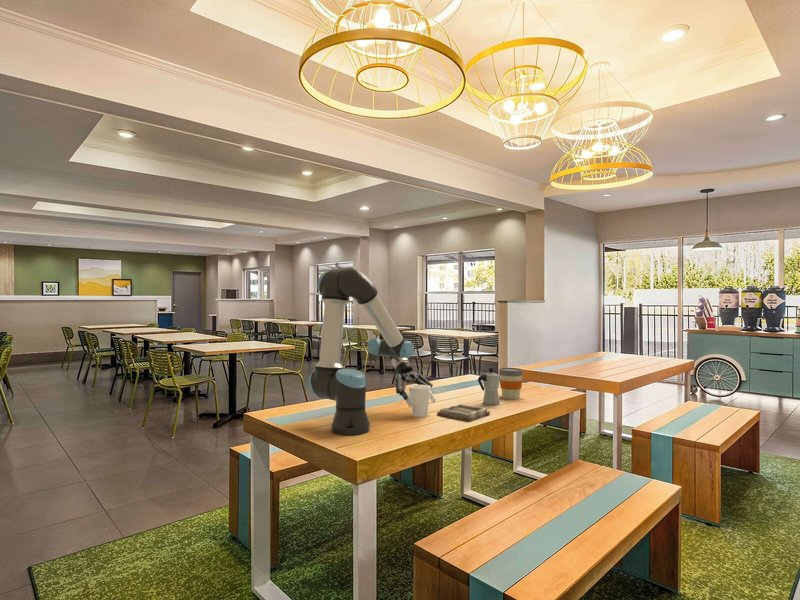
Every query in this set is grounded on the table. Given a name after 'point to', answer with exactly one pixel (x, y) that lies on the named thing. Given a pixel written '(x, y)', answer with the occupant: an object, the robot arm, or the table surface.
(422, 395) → the foam cup
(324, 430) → the table surface
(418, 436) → the table surface
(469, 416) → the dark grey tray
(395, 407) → the table surface
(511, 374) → the reusable coffee cup
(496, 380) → the coffee maker
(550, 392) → the table surface
